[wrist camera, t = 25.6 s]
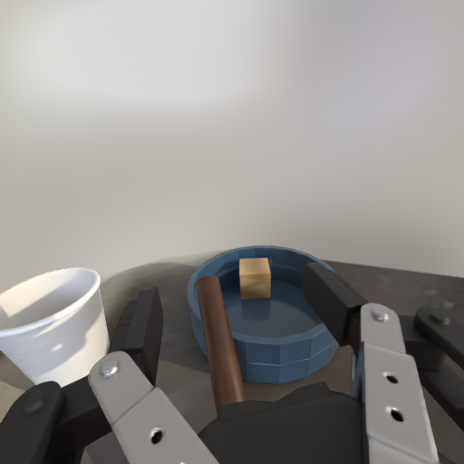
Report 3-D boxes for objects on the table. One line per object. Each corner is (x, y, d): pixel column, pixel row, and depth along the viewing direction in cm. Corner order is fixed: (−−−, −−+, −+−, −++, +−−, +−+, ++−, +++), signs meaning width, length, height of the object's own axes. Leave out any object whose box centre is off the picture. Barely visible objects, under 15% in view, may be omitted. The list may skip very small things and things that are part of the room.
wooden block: (240, 299, 31) (239, 274, 29) (240, 281, 34) (239, 258, 33) (270, 298, 30) (270, 273, 29) (267, 280, 34) (267, 257, 32)
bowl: (196, 408, 19) (186, 363, 17) (192, 285, 35) (187, 254, 33) (378, 365, 22) (391, 321, 19) (298, 268, 37) (299, 239, 35)
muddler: (214, 555, 11) (180, 280, 20) (234, 520, 14) (197, 294, 23) (284, 536, 11) (218, 266, 20) (290, 504, 13) (230, 281, 23)
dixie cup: (112, 409, 19) (72, 322, 16) (5, 431, 18) (-67, 343, 15) (135, 333, 27) (112, 261, 23) (60, 345, 26) (22, 272, 22)
